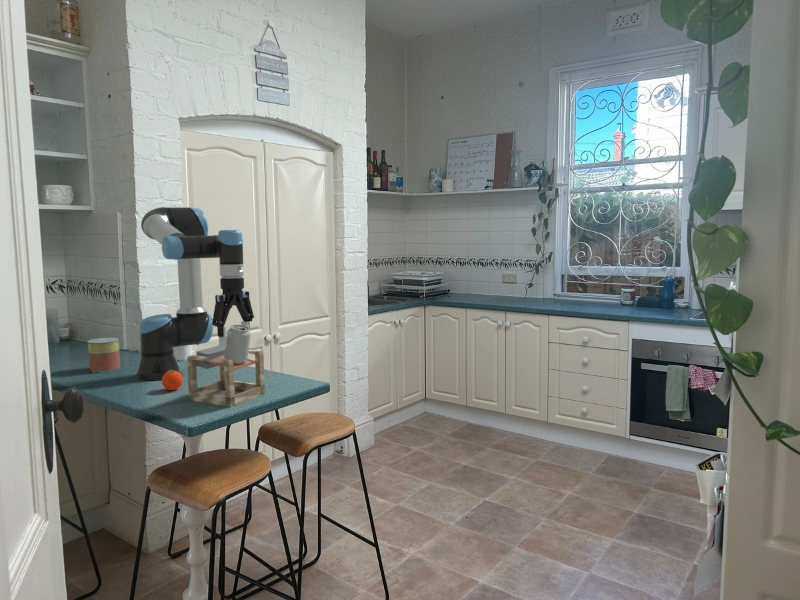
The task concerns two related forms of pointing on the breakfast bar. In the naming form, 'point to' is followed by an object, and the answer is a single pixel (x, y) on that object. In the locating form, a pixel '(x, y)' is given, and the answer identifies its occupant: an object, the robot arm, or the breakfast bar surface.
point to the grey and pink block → (217, 353)
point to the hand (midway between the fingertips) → (234, 343)
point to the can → (237, 344)
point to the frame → (225, 382)
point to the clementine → (172, 380)
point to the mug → (183, 352)
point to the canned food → (104, 354)
